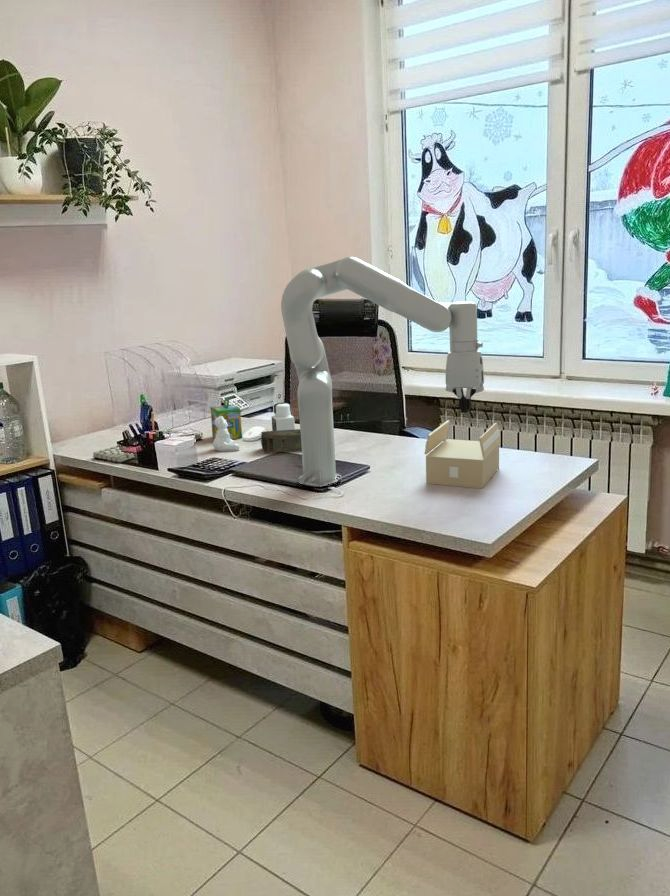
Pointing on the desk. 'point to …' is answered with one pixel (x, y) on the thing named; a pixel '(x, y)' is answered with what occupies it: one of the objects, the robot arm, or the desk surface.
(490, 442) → the right flap
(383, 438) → the desk surface
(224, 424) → the white creature statuette
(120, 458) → the mechanical keyboard
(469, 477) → the carton
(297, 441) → the beverage carton
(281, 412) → the medicine bottle
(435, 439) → the left flap
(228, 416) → the chalk box
